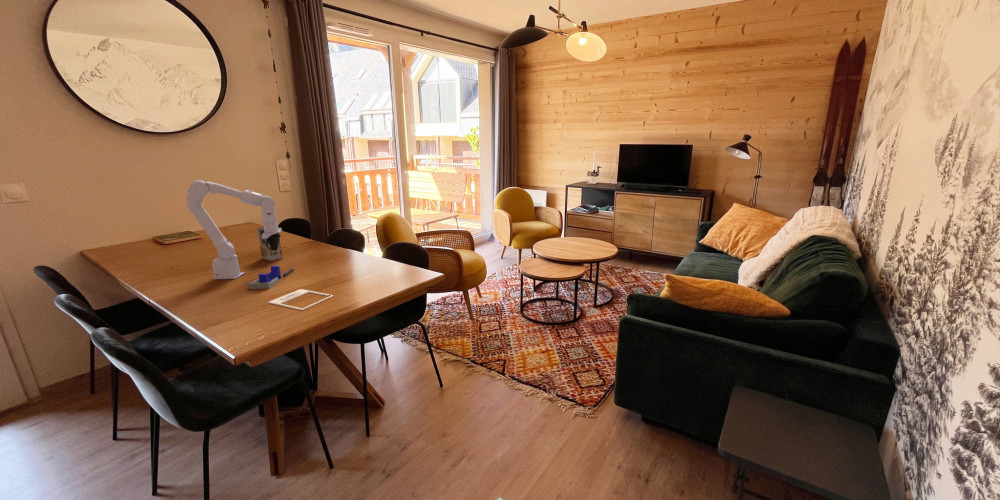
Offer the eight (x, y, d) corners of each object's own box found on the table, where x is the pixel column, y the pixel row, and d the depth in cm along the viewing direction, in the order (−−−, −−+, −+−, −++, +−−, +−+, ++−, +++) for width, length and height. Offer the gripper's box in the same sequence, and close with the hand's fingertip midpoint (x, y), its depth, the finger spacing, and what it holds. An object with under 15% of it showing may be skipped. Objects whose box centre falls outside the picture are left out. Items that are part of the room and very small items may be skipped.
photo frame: (300, 288, 165) (333, 294, 158) (301, 291, 166) (333, 297, 158) (268, 301, 152) (302, 308, 145) (268, 304, 153) (302, 311, 146)
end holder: (248, 289, 167) (247, 283, 166) (259, 281, 175) (258, 276, 175) (268, 288, 167) (267, 283, 167) (278, 281, 176) (278, 276, 175)
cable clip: (271, 278, 180) (268, 266, 178) (281, 278, 180) (279, 265, 179) (257, 288, 168) (254, 274, 167) (268, 288, 169) (265, 274, 167)
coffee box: (283, 258, 211) (278, 228, 206) (271, 261, 205) (265, 230, 201) (273, 255, 215) (268, 226, 211) (261, 258, 210) (256, 228, 206)
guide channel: (266, 276, 182) (266, 274, 181) (275, 271, 189) (275, 268, 189) (285, 276, 182) (285, 273, 182) (293, 270, 190) (293, 268, 189)
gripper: (270, 225, 180) (275, 254, 184) (286, 218, 194) (290, 245, 198) (254, 225, 180) (260, 254, 183) (271, 219, 194) (275, 246, 197)
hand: (274, 250), depth 190 cm, fingers closed
